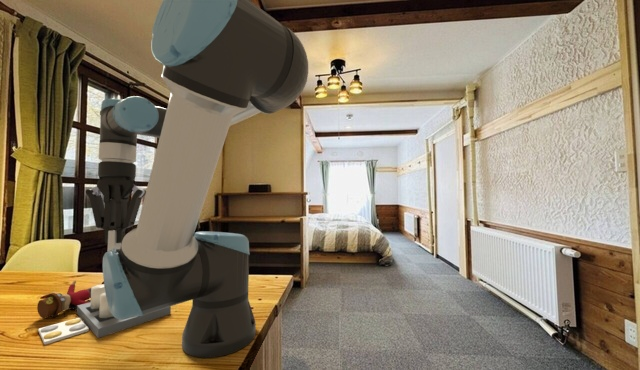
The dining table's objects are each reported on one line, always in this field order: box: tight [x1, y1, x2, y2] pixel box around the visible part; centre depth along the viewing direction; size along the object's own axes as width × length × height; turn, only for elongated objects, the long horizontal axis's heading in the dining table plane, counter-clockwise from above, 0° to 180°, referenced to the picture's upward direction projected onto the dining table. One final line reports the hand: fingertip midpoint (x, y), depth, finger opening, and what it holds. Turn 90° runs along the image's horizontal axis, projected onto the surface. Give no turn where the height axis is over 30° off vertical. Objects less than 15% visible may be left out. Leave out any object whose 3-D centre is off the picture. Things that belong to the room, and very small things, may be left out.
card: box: [38, 317, 90, 346], centre depth 60 cm, size 9×7×1 cm
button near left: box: [99, 293, 113, 318], centre depth 63 cm, size 4×4×5 cm
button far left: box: [90, 283, 105, 309], centre depth 68 cm, size 4×4×5 cm
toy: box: [37, 280, 104, 319], centre depth 72 cm, size 11×7×15 cm
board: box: [76, 302, 172, 339], centre depth 69 cm, size 20×15×2 cm
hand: (114, 256), depth 65 cm, fingers closed
